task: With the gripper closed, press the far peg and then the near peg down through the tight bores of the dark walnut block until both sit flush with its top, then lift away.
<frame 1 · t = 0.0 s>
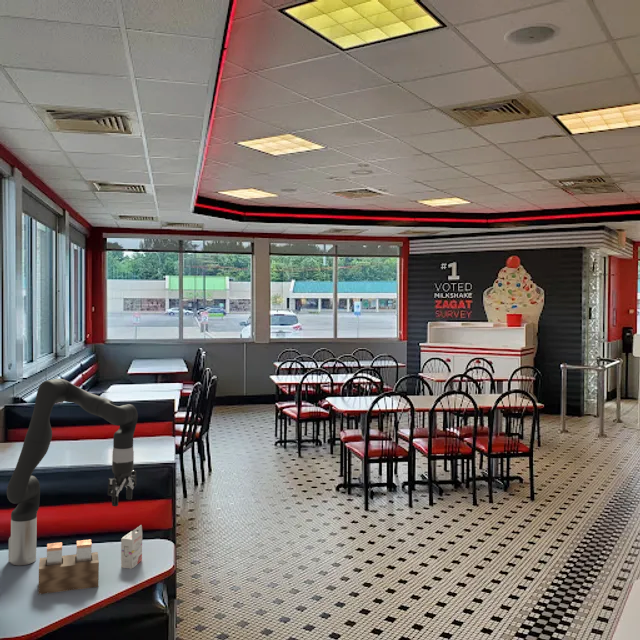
hand: (122, 502, 244), 29 cm above the table, fingers open, 8 cm apart
peg near: (54, 557, 239), point 11 cm above the table, slide at 0.0 cm
peg far: (83, 554, 242), point 11 cm above the table, slide at 0.0 cm
ink cartridge box: (131, 564, 260), on the table
walnut block: (68, 584, 241), on the table
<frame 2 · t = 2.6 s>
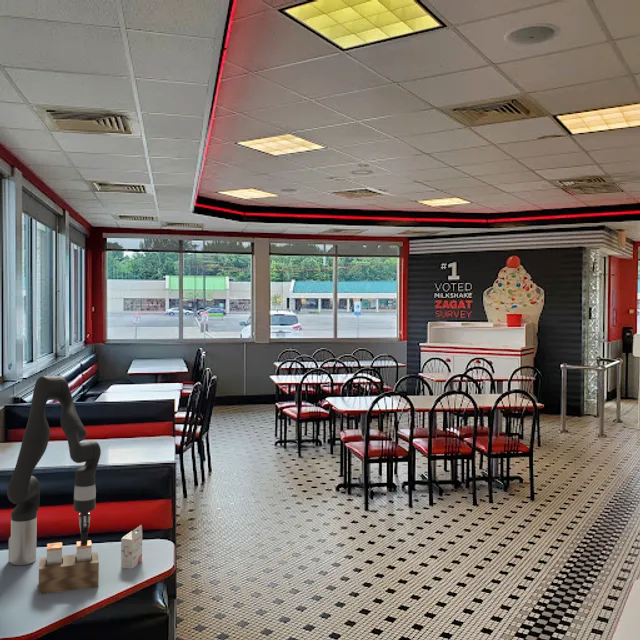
hand: (84, 543, 242), 15 cm above the table, fingers closed
peg far: (83, 555, 242), point 10 cm above the table, slide at 0.3 cm, touching gripper
everything else where it was.
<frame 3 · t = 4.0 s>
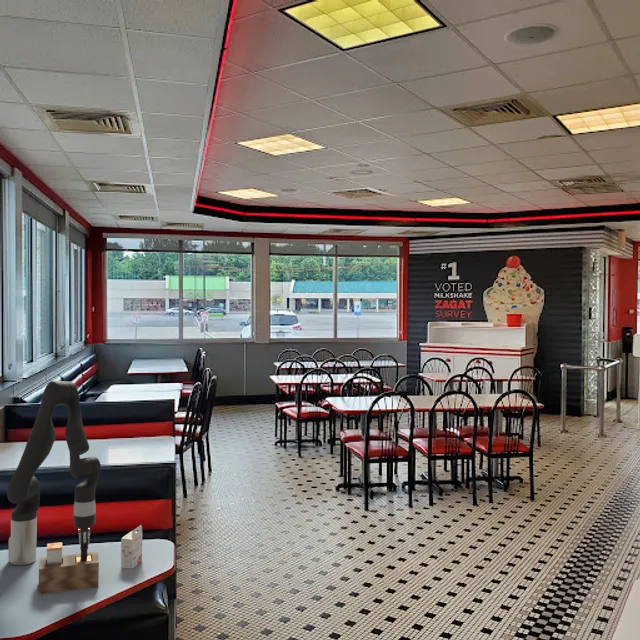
hand: (83, 558, 242), 9 cm above the table, fingers closed
peg far: (83, 570, 242), point 5 cm above the table, slide at 6.1 cm, touching gripper
everything else where it was.
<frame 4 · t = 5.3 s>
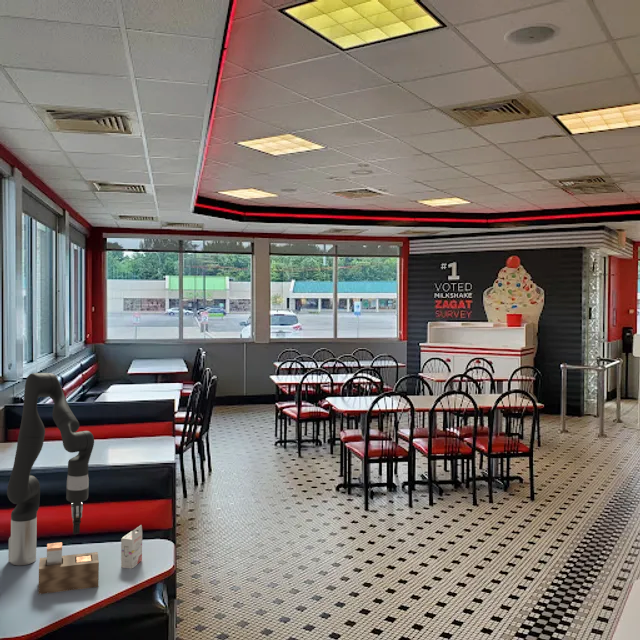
hand: (76, 533, 241), 19 cm above the table, fingers closed
peg far: (83, 570, 242), point 5 cm above the table, slide at 6.1 cm
everything else where it was.
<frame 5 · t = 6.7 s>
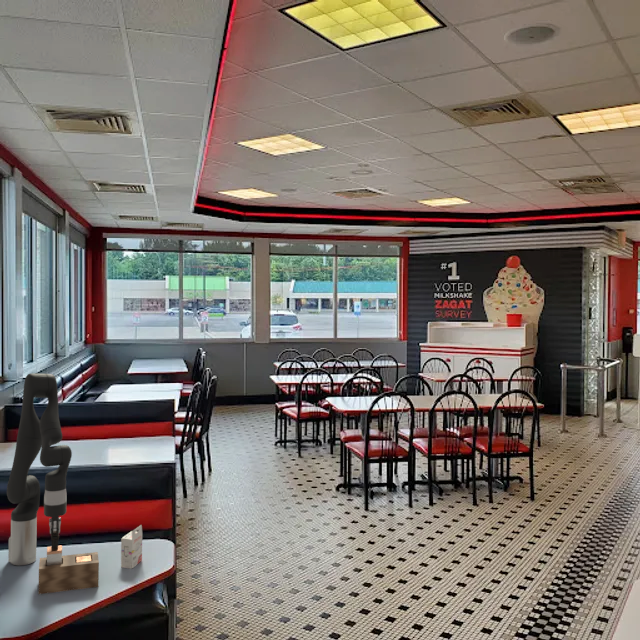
hand: (54, 548, 239), 14 cm above the table, fingers closed
peg near: (54, 560, 239), point 10 cm above the table, slide at 1.1 cm, touching gripper
everything else where it was.
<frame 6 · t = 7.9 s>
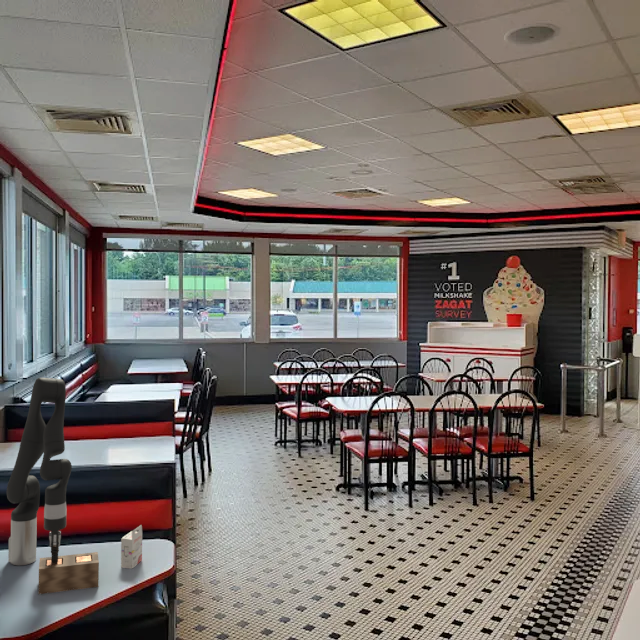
hand: (54, 562, 239), 9 cm above the table, fingers closed
peg near: (54, 573, 239), point 5 cm above the table, slide at 6.1 cm, touching gripper
everything else where it was.
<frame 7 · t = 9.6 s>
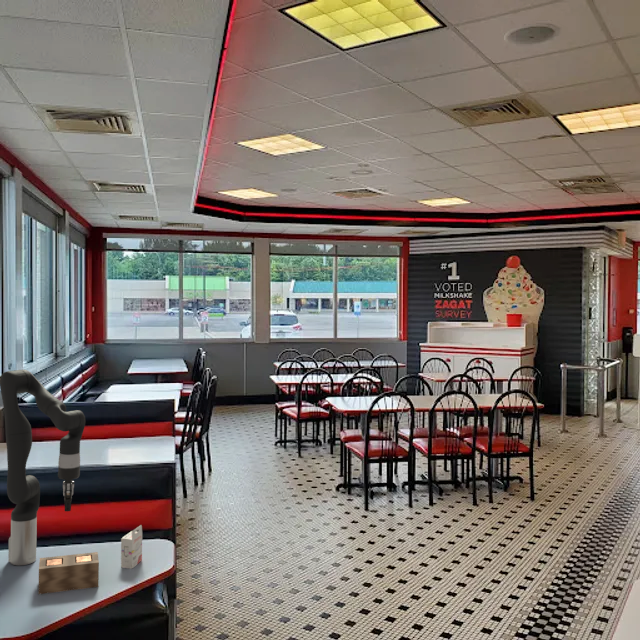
hand: (67, 510, 246), 25 cm above the table, fingers closed
peg near: (54, 573, 239), point 5 cm above the table, slide at 6.1 cm
everything else where it was.
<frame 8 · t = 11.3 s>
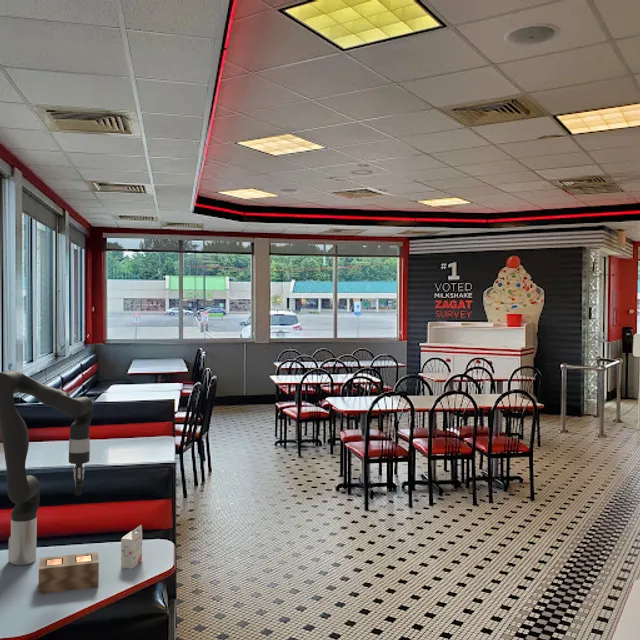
hand: (78, 494, 253), 29 cm above the table, fingers closed
nothing on the table moved.
at the end: peg far slide at 6.1 cm; peg near slide at 6.1 cm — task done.
